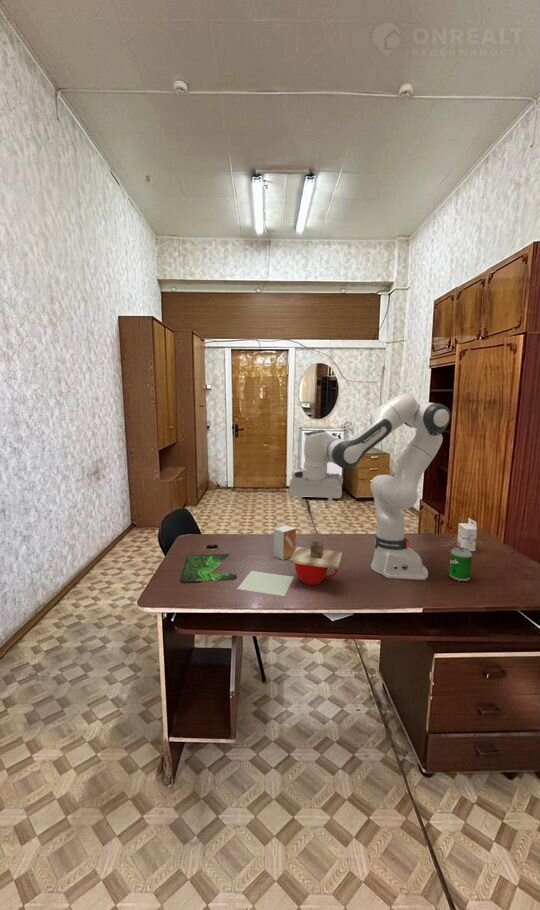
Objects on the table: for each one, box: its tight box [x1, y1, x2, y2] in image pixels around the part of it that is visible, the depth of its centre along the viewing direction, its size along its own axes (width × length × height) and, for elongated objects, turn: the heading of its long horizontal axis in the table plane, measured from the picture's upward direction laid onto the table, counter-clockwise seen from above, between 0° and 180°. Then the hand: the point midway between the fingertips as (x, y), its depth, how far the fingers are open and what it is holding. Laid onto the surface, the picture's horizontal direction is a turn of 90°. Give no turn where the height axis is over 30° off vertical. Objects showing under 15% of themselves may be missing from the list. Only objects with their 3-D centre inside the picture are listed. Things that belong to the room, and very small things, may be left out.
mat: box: [236, 570, 295, 597], centre depth 145 cm, size 18×16×1 cm
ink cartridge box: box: [456, 517, 478, 552], centre depth 181 cm, size 9×5×15 cm, turn 179°
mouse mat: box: [179, 553, 238, 584], centre depth 159 cm, size 27×22×1 cm
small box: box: [273, 524, 297, 561], centre depth 171 cm, size 8×6×13 cm
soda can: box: [448, 546, 473, 582], centre depth 150 cm, size 8×8×12 cm
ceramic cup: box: [294, 563, 338, 586], centre depth 145 cm, size 13×17×10 cm
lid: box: [288, 540, 343, 570], centre depth 144 cm, size 18×14×6 cm
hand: (314, 507), depth 147 cm, fingers open, 8 cm apart
